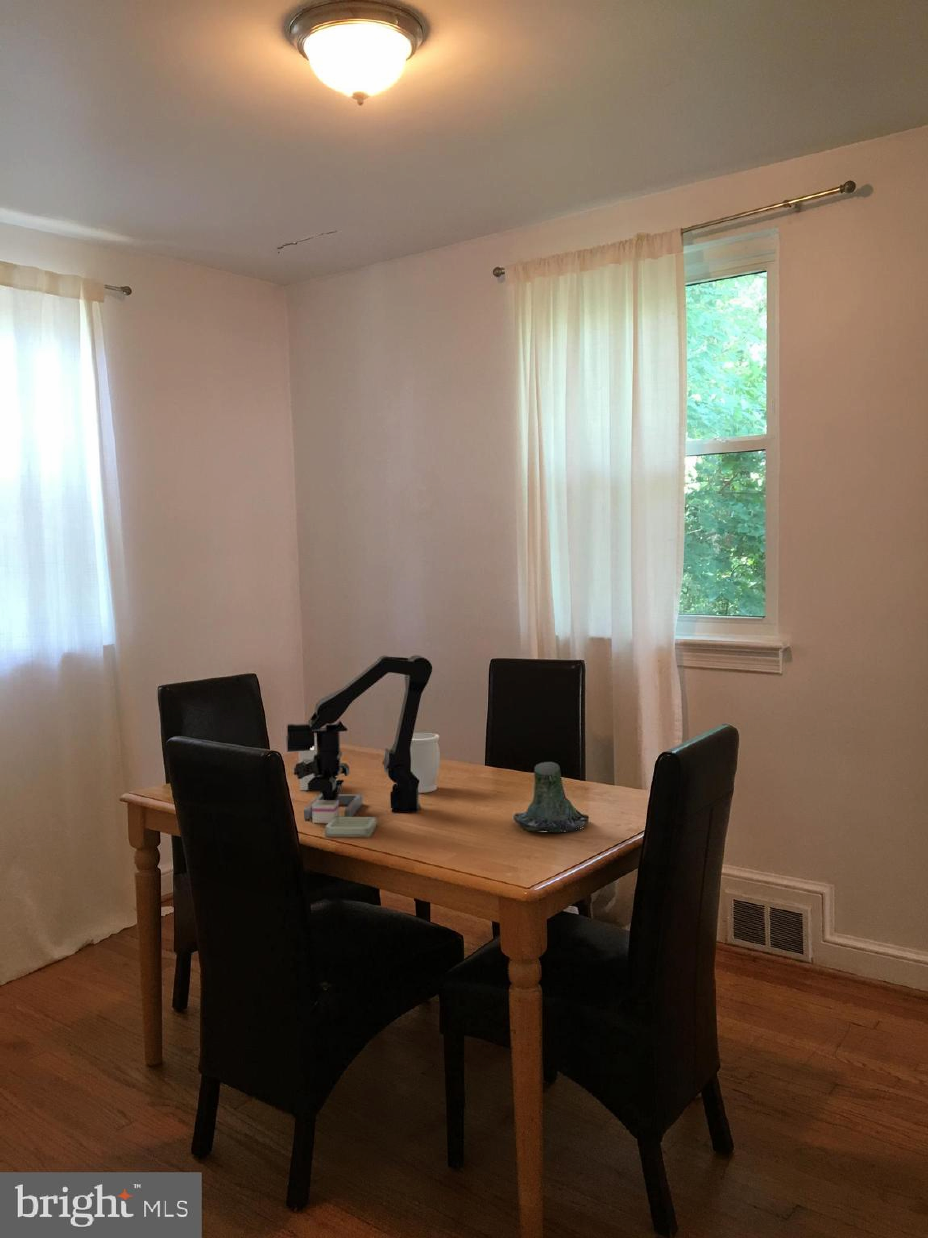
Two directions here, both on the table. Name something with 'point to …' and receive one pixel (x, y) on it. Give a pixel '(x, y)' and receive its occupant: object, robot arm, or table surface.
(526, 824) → the tree stump
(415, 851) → the table surface
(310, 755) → the ink cartridge box
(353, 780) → the table surface
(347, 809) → the bay
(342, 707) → the robot arm
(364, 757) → the table surface
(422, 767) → the jar
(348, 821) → the tray
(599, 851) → the table surface
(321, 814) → the white striped box
